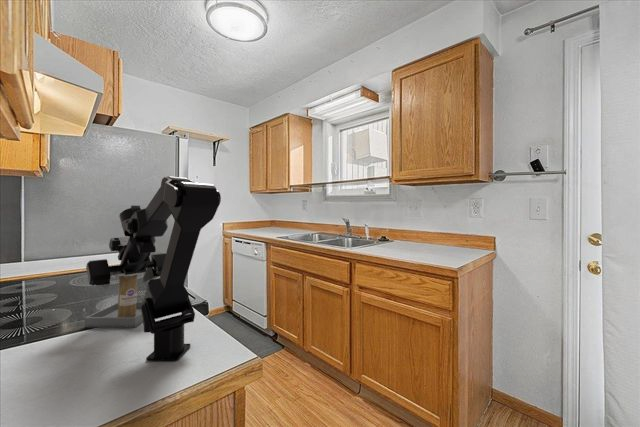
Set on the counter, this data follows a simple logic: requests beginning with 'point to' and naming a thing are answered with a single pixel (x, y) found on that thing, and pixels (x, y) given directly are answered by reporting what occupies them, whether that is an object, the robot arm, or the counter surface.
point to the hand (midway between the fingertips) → (125, 285)
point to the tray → (114, 318)
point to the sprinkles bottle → (127, 295)
